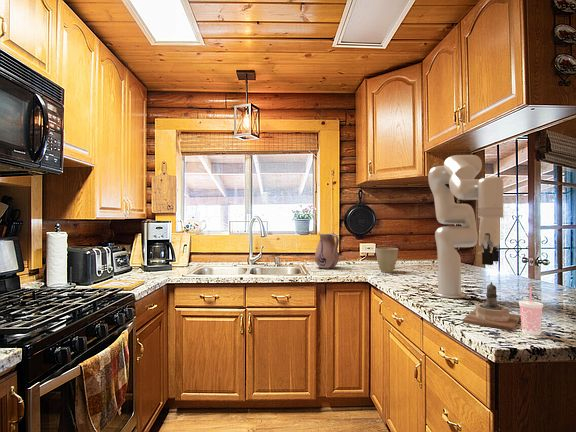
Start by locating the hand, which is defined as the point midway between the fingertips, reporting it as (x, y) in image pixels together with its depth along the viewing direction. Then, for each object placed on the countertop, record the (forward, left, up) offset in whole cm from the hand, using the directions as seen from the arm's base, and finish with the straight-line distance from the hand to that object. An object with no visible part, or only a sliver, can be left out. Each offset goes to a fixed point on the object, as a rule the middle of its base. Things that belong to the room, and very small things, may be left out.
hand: (490, 262), depth 116 cm
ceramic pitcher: (-71, -116, -20) cm, 137 cm away
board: (0, 0, -20) cm, 20 cm away
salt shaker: (0, 0, -19) cm, 19 cm away
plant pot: (-80, -75, -20) cm, 111 cm away
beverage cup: (+7, +12, -20) cm, 24 cm away
